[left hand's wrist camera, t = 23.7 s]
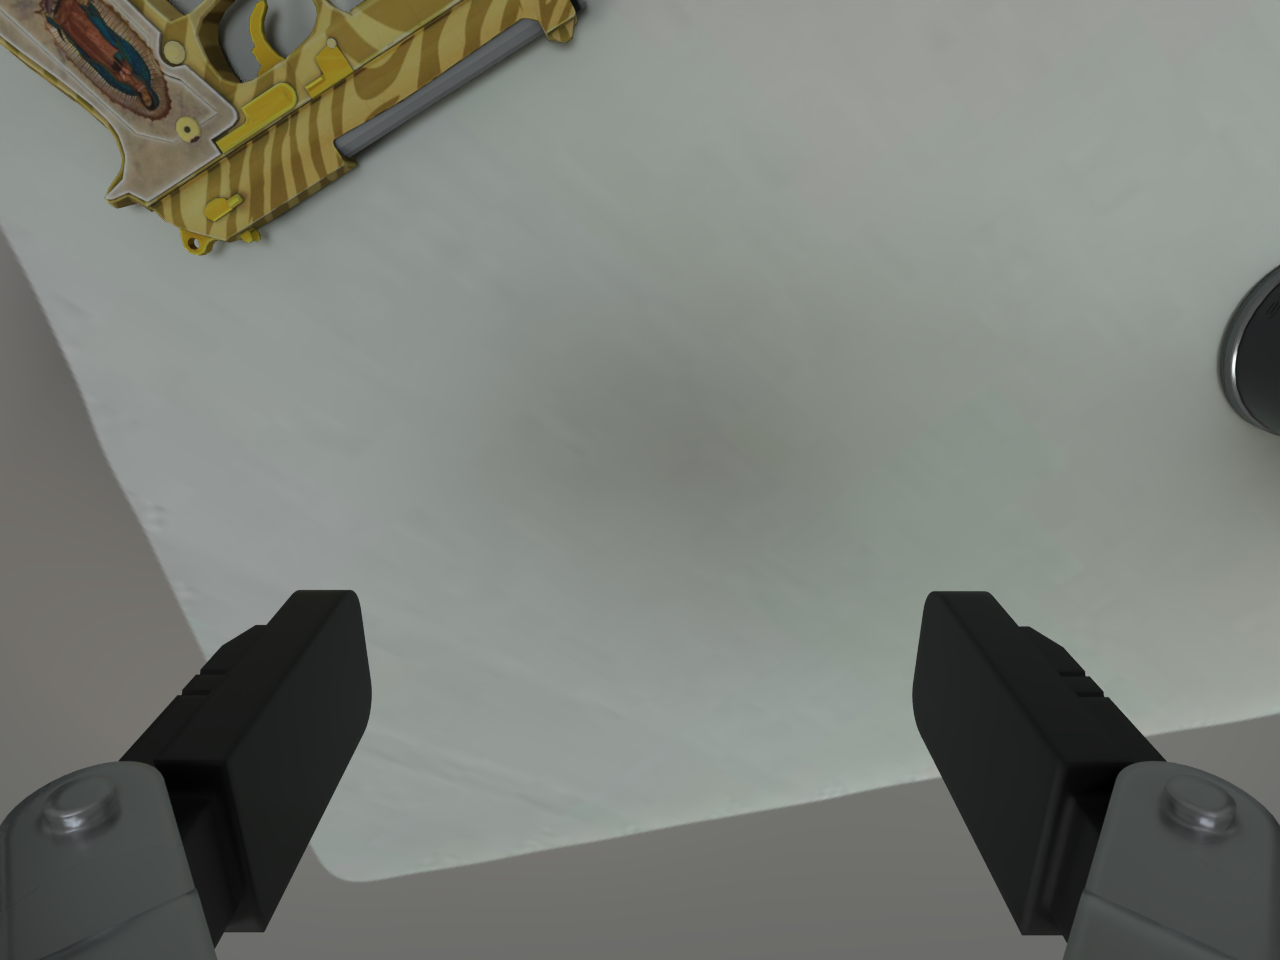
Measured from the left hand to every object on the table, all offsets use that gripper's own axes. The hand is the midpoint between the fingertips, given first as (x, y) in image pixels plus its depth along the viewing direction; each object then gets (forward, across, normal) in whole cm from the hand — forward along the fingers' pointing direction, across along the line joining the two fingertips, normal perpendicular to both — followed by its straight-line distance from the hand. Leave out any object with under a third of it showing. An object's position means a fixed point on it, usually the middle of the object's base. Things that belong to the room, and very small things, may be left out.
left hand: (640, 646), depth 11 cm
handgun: (+30, +15, -13) cm, 36 cm away
